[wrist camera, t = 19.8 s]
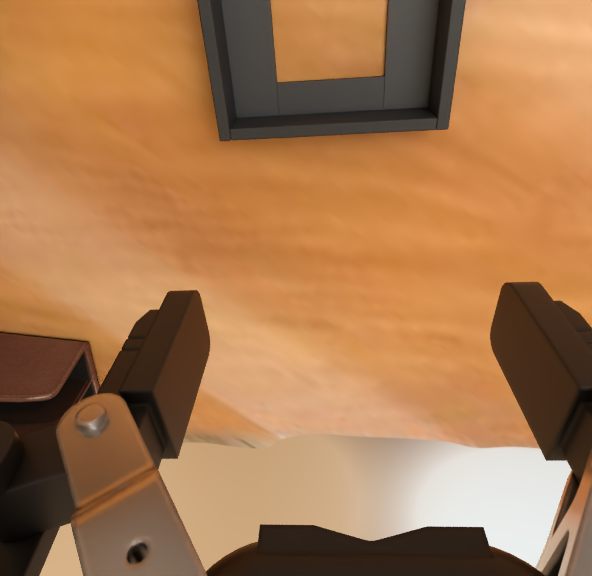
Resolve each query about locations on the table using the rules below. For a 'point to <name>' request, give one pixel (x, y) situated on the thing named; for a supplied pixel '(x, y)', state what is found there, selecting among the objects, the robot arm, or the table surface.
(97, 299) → the table surface
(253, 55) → the dark grey rectangular frame
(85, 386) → the letter holder
